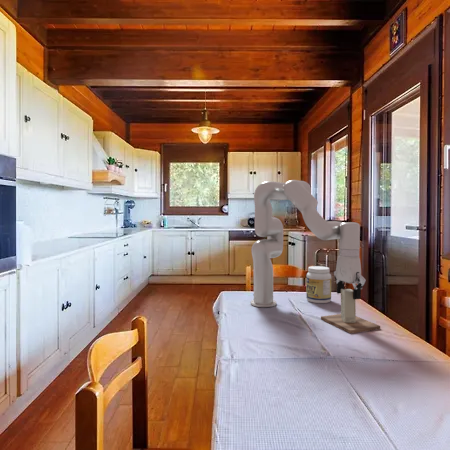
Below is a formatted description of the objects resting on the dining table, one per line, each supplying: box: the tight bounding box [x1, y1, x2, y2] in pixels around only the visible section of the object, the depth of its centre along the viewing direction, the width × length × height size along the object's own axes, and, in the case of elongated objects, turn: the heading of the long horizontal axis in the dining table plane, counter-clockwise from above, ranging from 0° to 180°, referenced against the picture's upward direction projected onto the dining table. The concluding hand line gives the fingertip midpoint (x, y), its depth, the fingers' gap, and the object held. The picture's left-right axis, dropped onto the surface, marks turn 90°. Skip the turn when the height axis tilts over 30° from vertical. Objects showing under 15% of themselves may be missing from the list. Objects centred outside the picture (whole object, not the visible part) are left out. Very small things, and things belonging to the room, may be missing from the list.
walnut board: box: [320, 313, 381, 335], centre depth 134 cm, size 18×14×1 cm
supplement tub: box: [305, 265, 332, 304], centre depth 170 cm, size 12×12×17 cm
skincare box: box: [340, 288, 357, 323], centre depth 134 cm, size 6×4×12 cm
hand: (348, 296), depth 134 cm, fingers open, 9 cm apart
